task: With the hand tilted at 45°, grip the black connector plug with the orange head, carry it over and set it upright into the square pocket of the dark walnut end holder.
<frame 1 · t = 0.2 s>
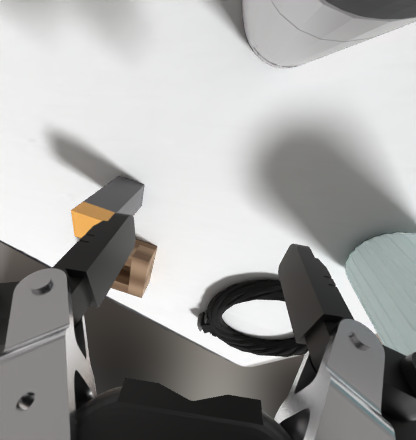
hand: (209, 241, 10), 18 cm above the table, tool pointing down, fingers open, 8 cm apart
vase: (380, 252, 30), on the table
cable lock: (261, 314, 45), on the table
connector plug: (130, 191, 30), on the table
end holder: (125, 256, 40), on the table
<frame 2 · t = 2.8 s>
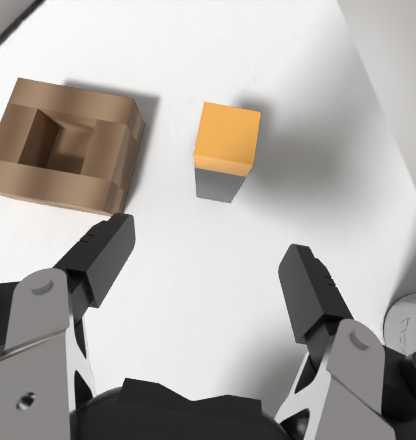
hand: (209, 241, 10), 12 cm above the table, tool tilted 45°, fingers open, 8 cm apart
connector plug: (216, 184, 23), on the table
end holder: (83, 160, 23), on the table
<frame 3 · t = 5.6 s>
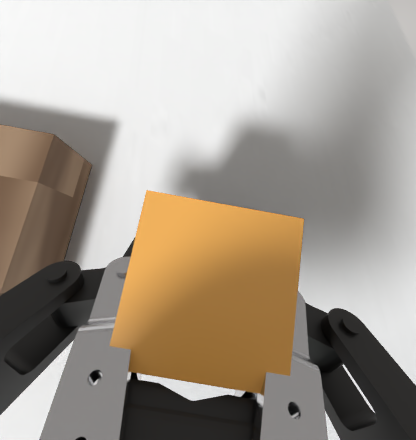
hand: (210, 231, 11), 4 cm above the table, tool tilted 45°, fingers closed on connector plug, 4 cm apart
connector plug: (203, 263, 14), on the table, touching gripper
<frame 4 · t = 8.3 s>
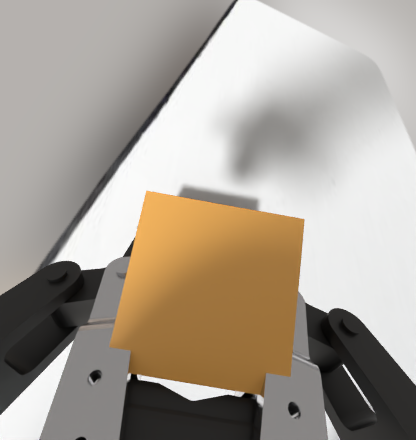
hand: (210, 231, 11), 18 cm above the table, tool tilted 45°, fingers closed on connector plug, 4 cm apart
connector plug: (203, 263, 14), point 14 cm above the table, touching gripper
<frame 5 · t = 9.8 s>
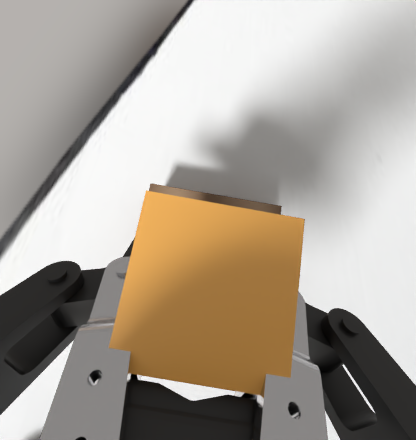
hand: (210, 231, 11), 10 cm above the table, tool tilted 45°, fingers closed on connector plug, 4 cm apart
connector plug: (203, 263, 14), point 6 cm above the table, touching gripper
end holder: (204, 259, 20), on the table
when the fingers open (6 cm above the table, at t = 11.0 s): connector plug stays where it is, resting on end holder.
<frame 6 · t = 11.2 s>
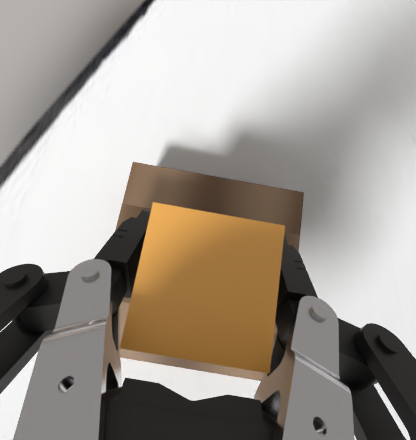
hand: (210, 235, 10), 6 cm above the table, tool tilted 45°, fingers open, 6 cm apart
connector plug: (202, 262, 15), point 1 cm above the table, touching end holder
end holder: (202, 261, 16), on the table
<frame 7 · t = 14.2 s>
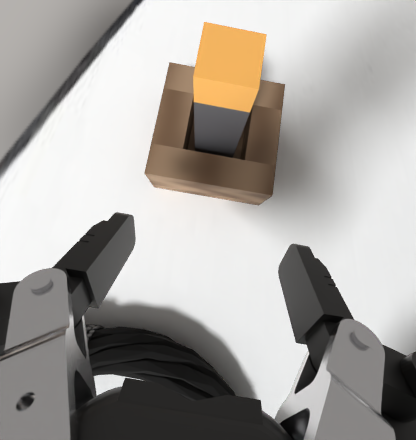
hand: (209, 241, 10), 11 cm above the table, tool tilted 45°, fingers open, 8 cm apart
connector plug: (215, 143, 22), point 1 cm above the table, touching end holder
end holder: (215, 147, 23), on the table
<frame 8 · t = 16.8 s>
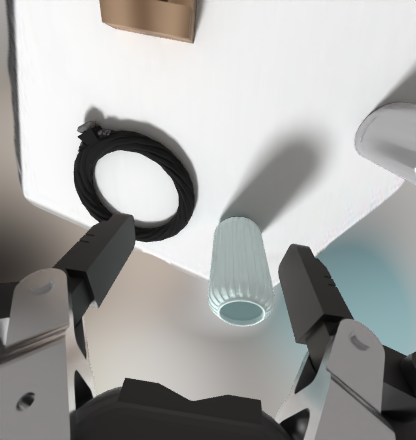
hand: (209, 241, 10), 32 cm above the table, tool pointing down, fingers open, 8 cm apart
vase: (236, 229, 50), on the table
cable lock: (136, 186, 46), on the table
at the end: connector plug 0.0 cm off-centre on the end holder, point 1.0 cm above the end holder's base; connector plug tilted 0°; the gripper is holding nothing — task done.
